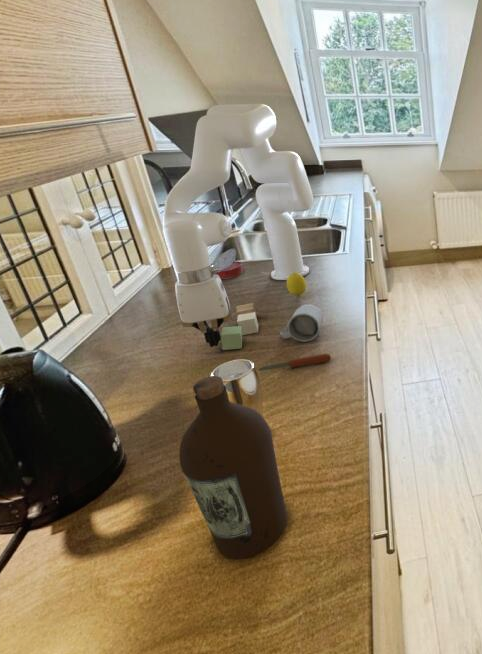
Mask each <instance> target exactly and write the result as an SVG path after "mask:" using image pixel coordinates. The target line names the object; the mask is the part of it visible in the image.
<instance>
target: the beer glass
mask: <svg viewBox="0 0 482 654" xmlns="http://www.w3.org/2000/svg"><path fill="white" fill-rule="evenodd" d="M210 376H219V377H221V378H222V380H223V385H224V386H225V387H226V390H227V394H228V398H229V401H230V402H233V403H236V404H240V405H243V406H246V407H249V408H252V409H254V410H255V411H257V412H258V413H259V414H260V415H261V416H262V417H263V418H264V407H263V405H264V404H263V390H262V386H261V382H260V379H259V375H258V373H257V370H256V367H255V364H254V362H253V361H252V360H249V359H245V358H244V359H243V358H241V359H239V358H238V359H233V360H228V361H227V362H223V363H222V364H220V365H218V366H216V367H215V368H214V369H213V370H212V371H211V373H210ZM264 419H265V418H264Z"/></svg>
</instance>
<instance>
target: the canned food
mask: <svg viewBox="0 0 482 654" xmlns="http://www.w3.org/2000/svg"><path fill="white" fill-rule="evenodd" d="M236 258H237V250H236V248H230V249H227V250H226V251H224V252H222V253H221V254H220V255H219V256H218V257H216V258H215V259H214V260H213V261H212V262H211V263H212V264H213V265H214V266H216V267H217V266H219V267H220V272H217V273H215V274H217V275H219V277H220V279H221V280H227V279H232V278H236V277H238V276H240V275H242V274H243V272H244V270H243V266H242V263H241V262H240V261H236ZM215 274H214V275H215Z"/></svg>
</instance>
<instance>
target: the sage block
mask: <svg viewBox="0 0 482 654" xmlns="http://www.w3.org/2000/svg"><path fill="white" fill-rule="evenodd" d="M220 336H221V349H222V350H223V351H227V350H239V349H240V350H241V349H242V348H243V335H242V329H241V326H238V325H236V326H223V327H222V328H221V333H220Z"/></svg>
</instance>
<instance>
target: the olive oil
mask: <svg viewBox="0 0 482 654" xmlns="http://www.w3.org/2000/svg"><path fill="white" fill-rule="evenodd" d="M192 389H193V392H194V394H195V396H194V399H195V401H196V405H197V407H198V410H199V413H198V414H197V415H196V417H195V418H194V419H193V420H192V422H191V423H190V425H189V426H188V427H187V428H186V430H185V432H184V434H183V435H182V437H181V441H180V445H179V455H178V456H179V457H178V458H179V465H180V467H181V468H180V469H181V473H182V474H183V476H184V477H185V479H186V482H187V483H188V486H189V488H190V490H191V493H192V494H193V497H194V499H195V501H196V503H197V505H198V508H199V510H200V512H201V514H202V516H203V519H204V521H205V523H206V525H207V528H208V530H209V532H210V534H211V537H212V539H213V541H214V544H215V546H216V548H217V550H218V552H219V553H220V554H221V555H222V556H224V557H226V558H229V559H235V560H237V559H238V560H240V559H241V560H242V559H247V558H250V557H253V556H256V555H258V554H260V553H262V552H264V551H265V550H267V549H268V548H269V547H271V546H272V545H273V544H274V543H275V542H276V541H277V540H278V539H279V538H280V537H281V535H282V534H283V532H284V530H285V529H286V526H287V522H288V512H287V507H286V502H285V498H284V494H283V489H282V484H281V479H280V473H279V468H278V463H277V458H276V452H275V447H274V442H273V435H272V431H271V428H270V425H269V424H268V422H267V421H266V419H265V418H263V417H264V416H263V417H262V416H261V415H260V414H259V413H258V412H257V411H255V410H254V409H252V408H249V407H246V406H243V405H240V404H236V403H233V402H230V401H229V398H228V394H227V390H226V387H225V386H224V385H223V380H222V378H221V377H219V376H211V375H209V376H207V377H204V378H201V379H199V380H198V381H196V382H195V383H194V385H193V387H192Z"/></svg>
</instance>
